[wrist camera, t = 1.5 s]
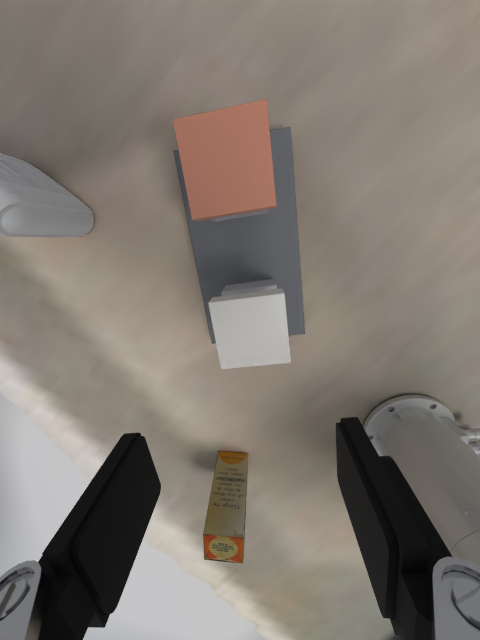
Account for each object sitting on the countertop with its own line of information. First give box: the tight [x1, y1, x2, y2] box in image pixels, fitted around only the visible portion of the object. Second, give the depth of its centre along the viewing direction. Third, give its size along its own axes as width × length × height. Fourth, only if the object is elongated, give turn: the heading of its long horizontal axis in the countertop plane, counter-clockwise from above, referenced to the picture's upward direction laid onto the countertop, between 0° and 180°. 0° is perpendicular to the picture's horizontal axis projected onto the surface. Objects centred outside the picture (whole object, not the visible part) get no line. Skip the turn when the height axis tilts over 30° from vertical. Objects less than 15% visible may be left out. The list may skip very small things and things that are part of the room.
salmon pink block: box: [173, 99, 276, 221], centre depth 20 cm, size 6×6×6 cm
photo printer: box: [0, 153, 94, 237], centre depth 24 cm, size 10×4×12 cm, turn 53°
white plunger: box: [208, 288, 291, 369], centre depth 24 cm, size 6×6×6 cm
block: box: [174, 127, 305, 344], centre depth 27 cm, size 12×22×6 cm, turn 8°
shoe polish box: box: [203, 451, 248, 563], centre depth 36 cm, size 5×5×12 cm
